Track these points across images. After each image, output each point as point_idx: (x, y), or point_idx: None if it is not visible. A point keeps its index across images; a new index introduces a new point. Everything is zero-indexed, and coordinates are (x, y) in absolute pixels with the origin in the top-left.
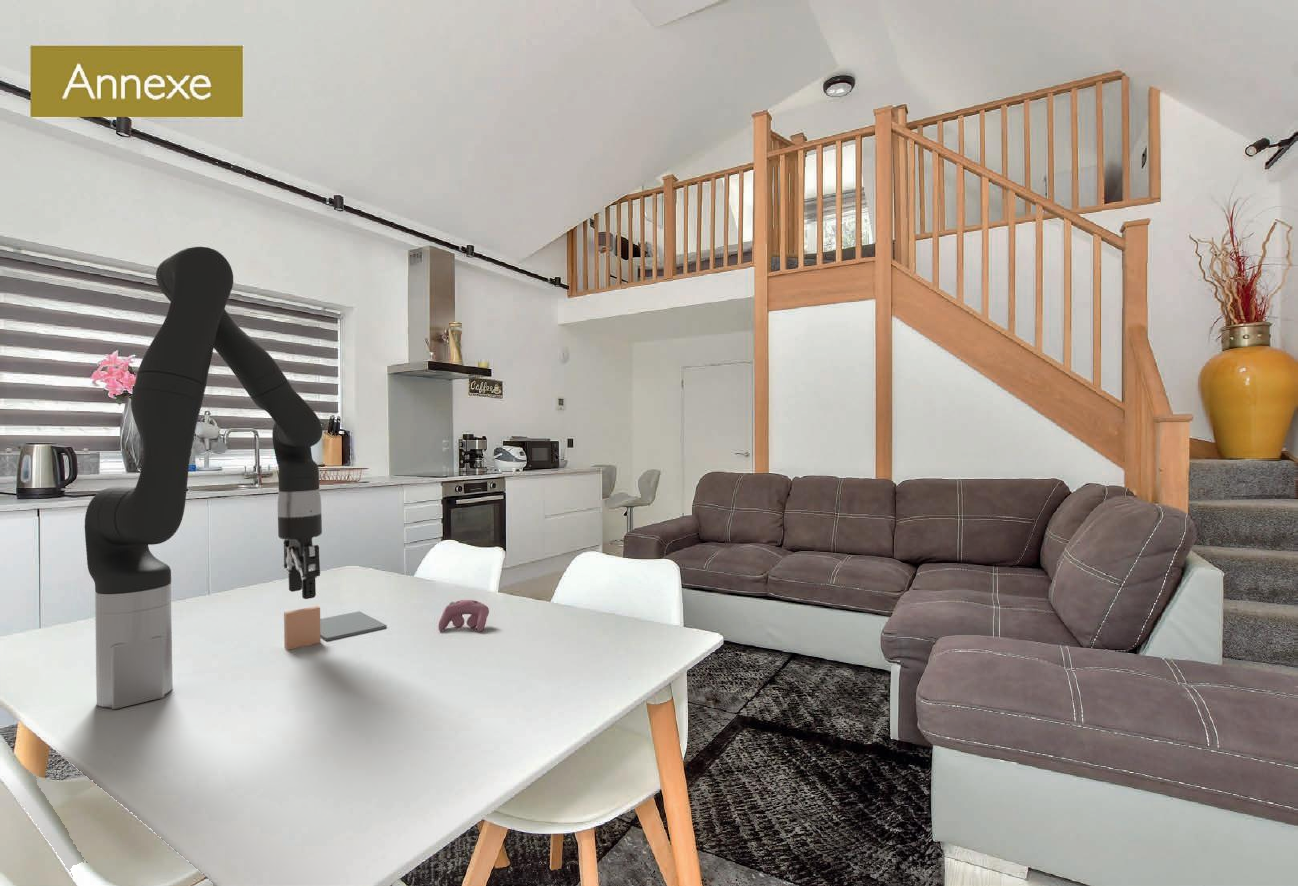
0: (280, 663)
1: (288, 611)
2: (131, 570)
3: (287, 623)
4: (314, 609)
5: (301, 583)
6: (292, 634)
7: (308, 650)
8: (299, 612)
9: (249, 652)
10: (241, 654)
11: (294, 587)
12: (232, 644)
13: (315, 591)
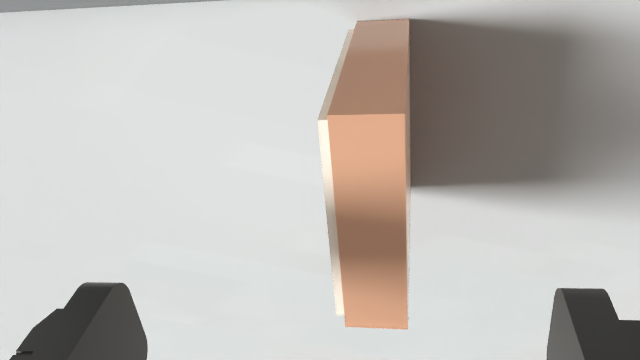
0: (623, 255)
1: (346, 304)
2: None
3: (408, 275)
4: (404, 153)
5: (91, 326)
6: (409, 204)
7: (521, 112)
8: (406, 252)
9: (322, 298)
10: (329, 322)
11: (124, 353)
12: (145, 313)
13: (619, 328)
